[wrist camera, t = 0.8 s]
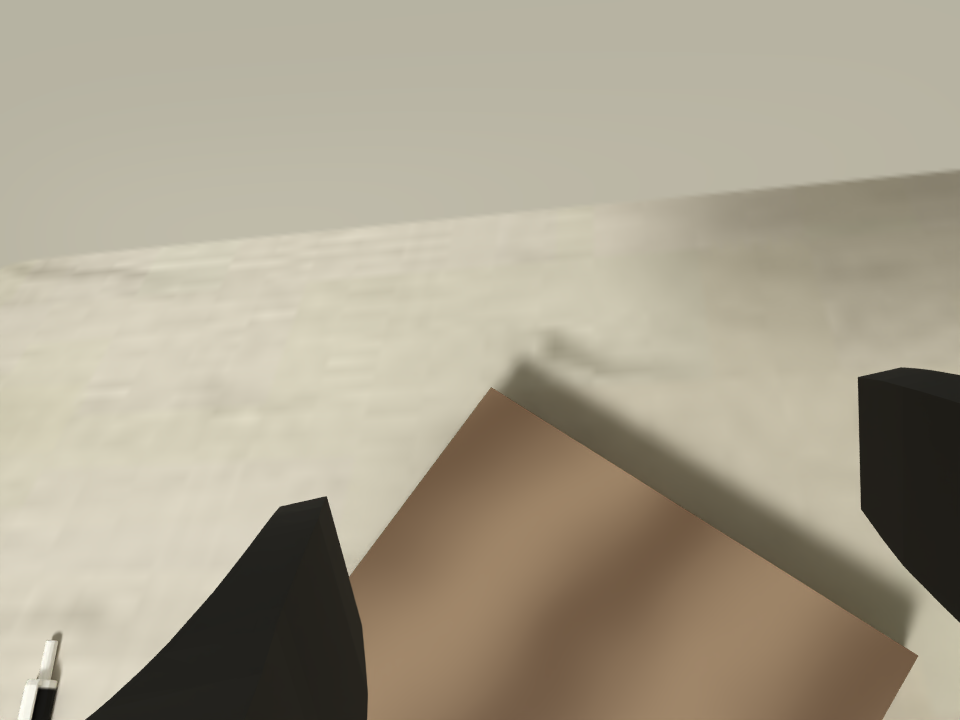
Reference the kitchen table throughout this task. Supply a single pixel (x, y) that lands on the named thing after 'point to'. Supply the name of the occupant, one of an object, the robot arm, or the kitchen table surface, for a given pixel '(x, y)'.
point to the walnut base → (592, 600)
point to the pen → (40, 688)
